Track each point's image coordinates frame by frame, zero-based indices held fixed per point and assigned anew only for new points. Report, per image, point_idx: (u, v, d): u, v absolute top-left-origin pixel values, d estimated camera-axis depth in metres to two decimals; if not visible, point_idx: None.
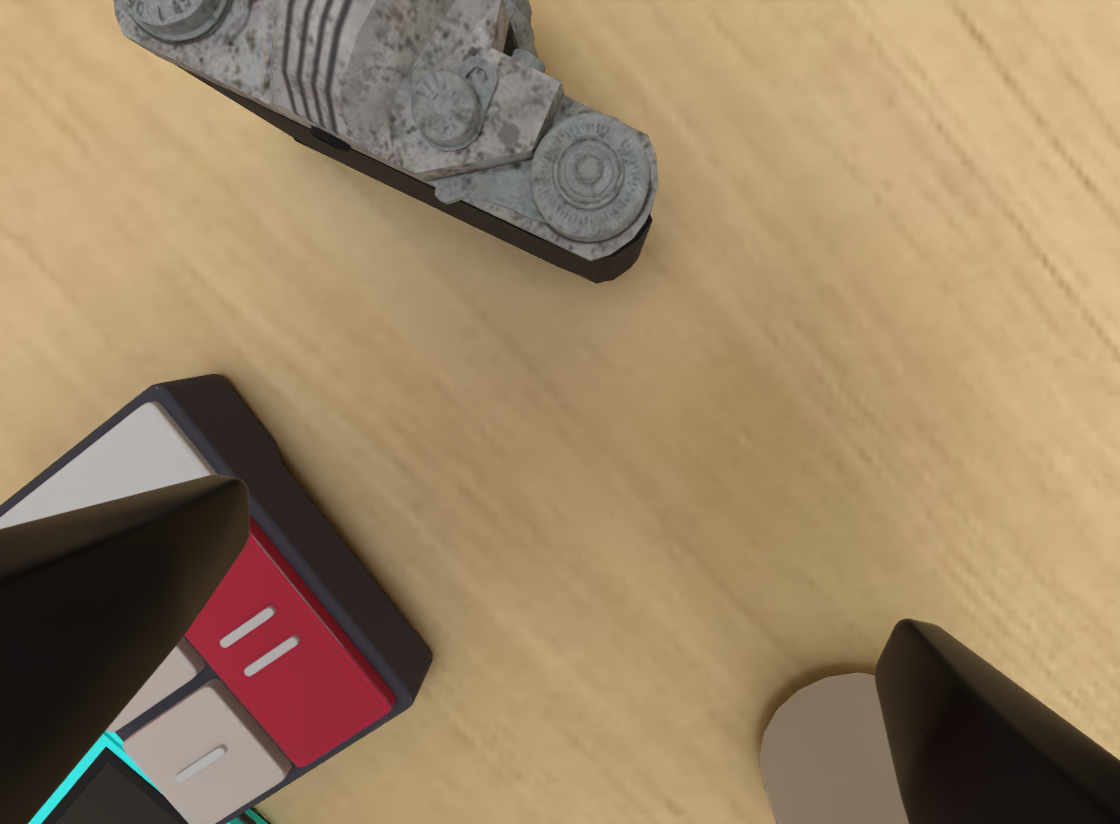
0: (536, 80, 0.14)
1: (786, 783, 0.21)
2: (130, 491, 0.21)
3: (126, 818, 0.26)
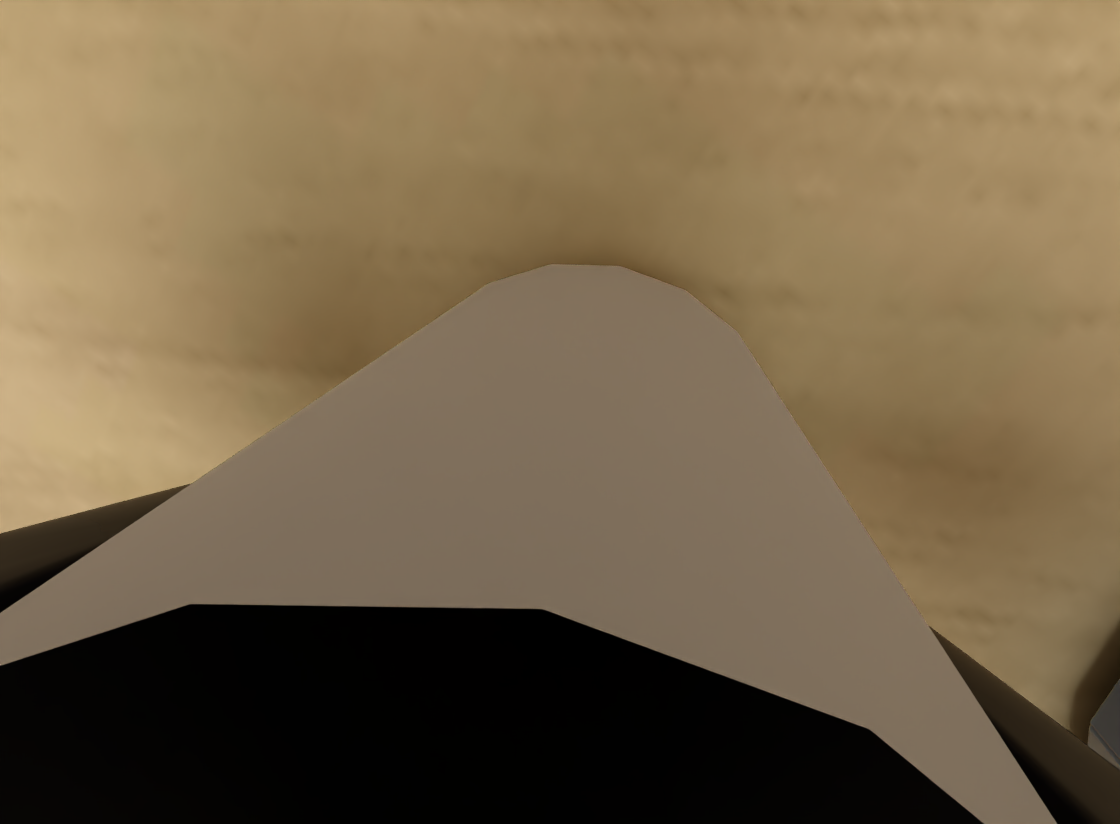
0: None
1: None
2: None
3: None
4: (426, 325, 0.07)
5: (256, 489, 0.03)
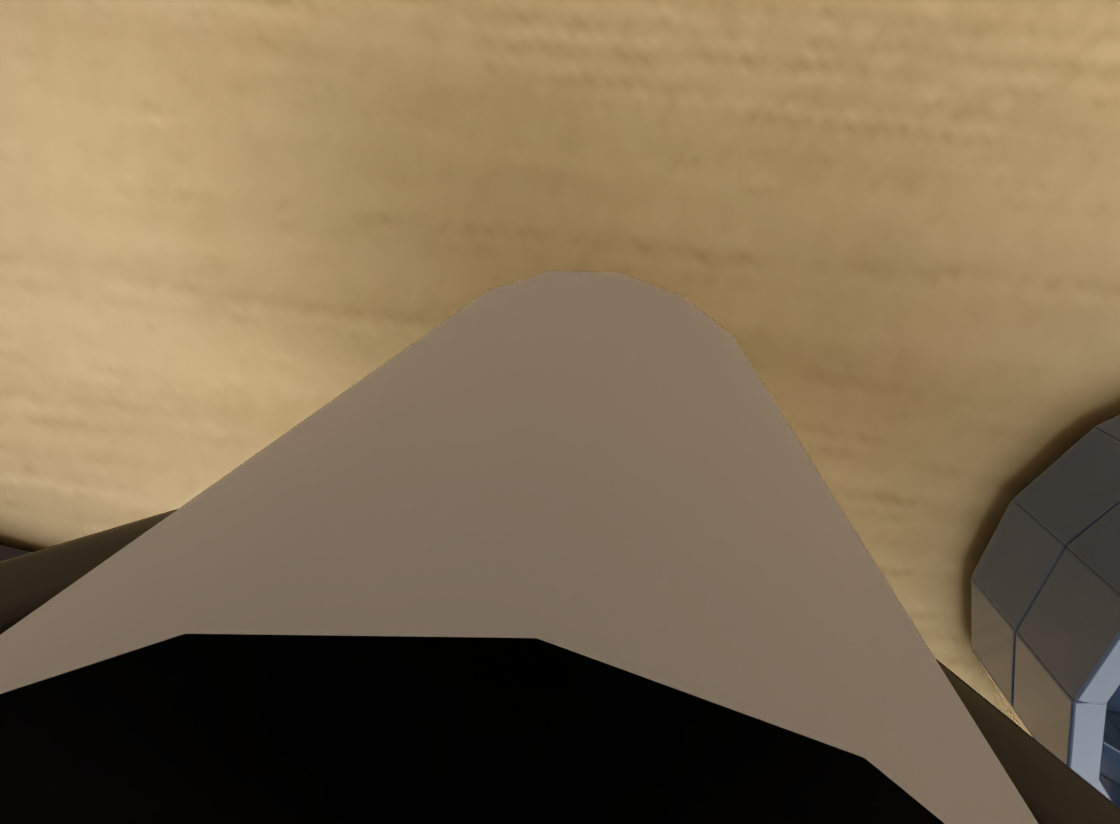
0: None
1: None
2: None
3: None
4: None
5: (271, 493, 0.03)
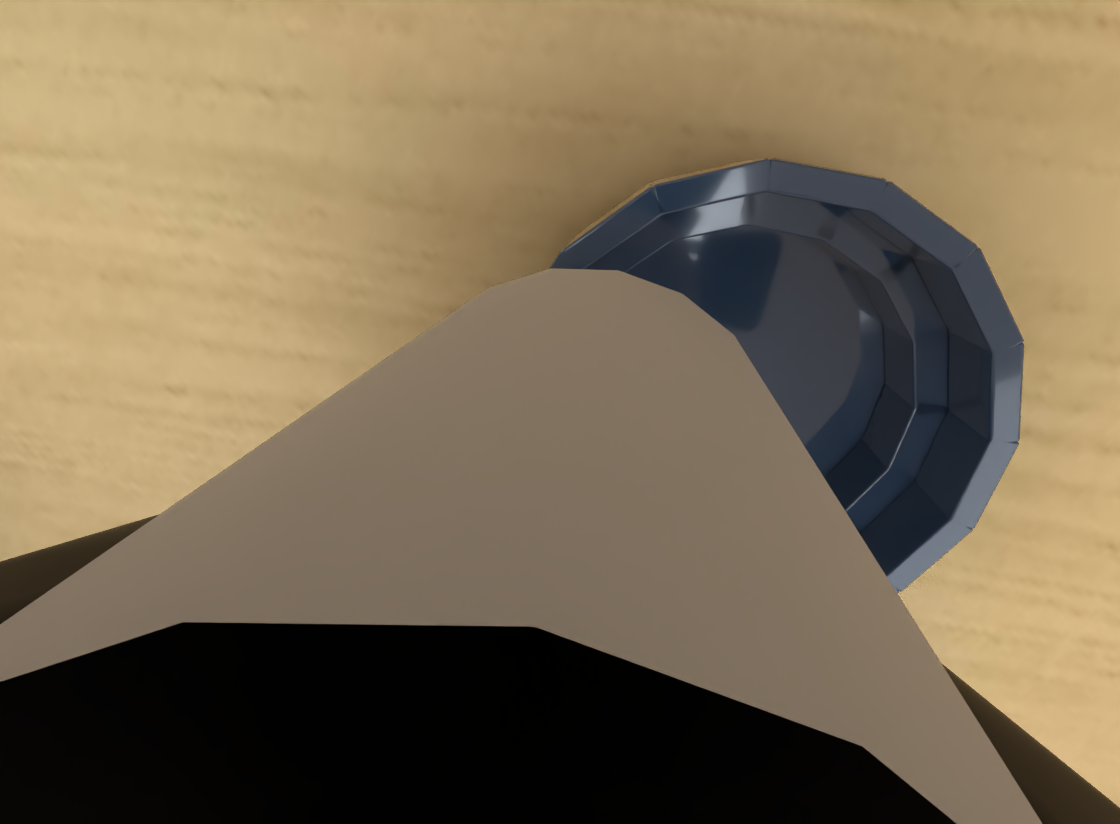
0: None
1: None
2: None
3: None
4: None
5: (267, 489, 0.03)
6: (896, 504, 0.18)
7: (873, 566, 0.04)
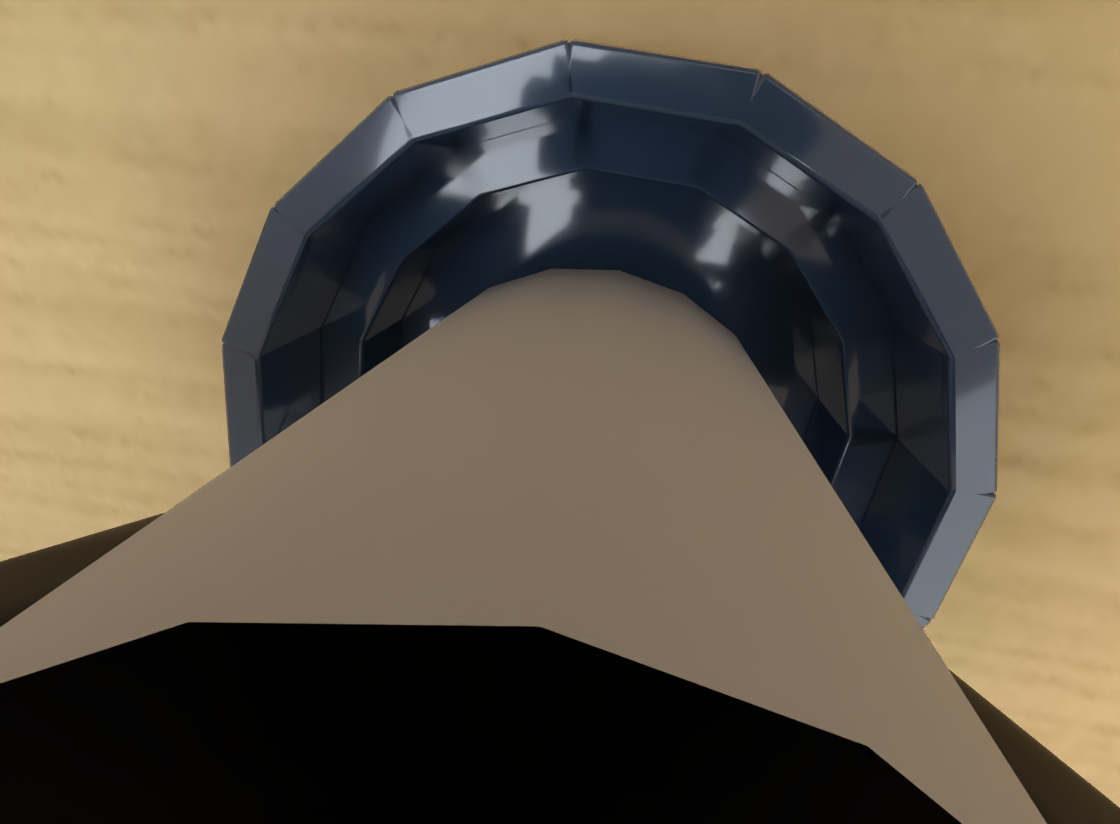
0: None
1: None
2: None
3: None
4: (429, 329, 0.08)
5: (270, 489, 0.03)
6: None
7: (876, 567, 0.04)
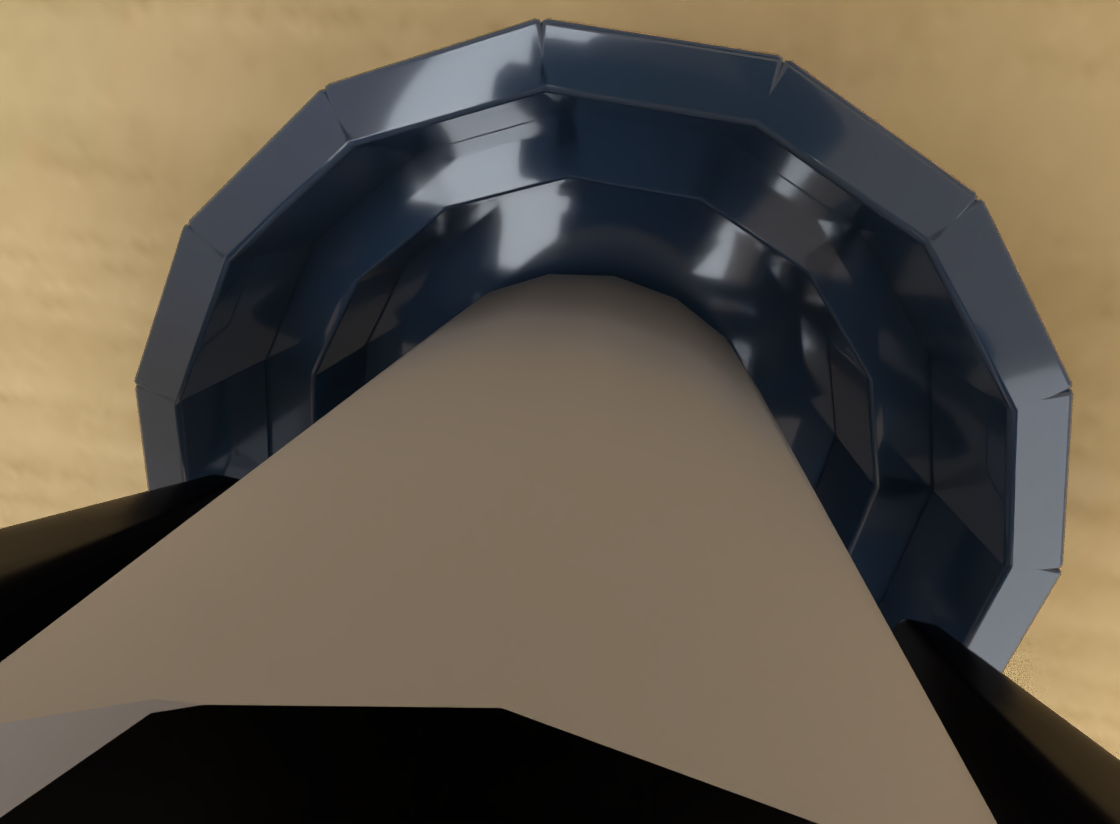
0: None
1: None
2: None
3: None
4: (430, 337, 0.08)
5: (287, 502, 0.04)
6: None
7: (840, 567, 0.04)
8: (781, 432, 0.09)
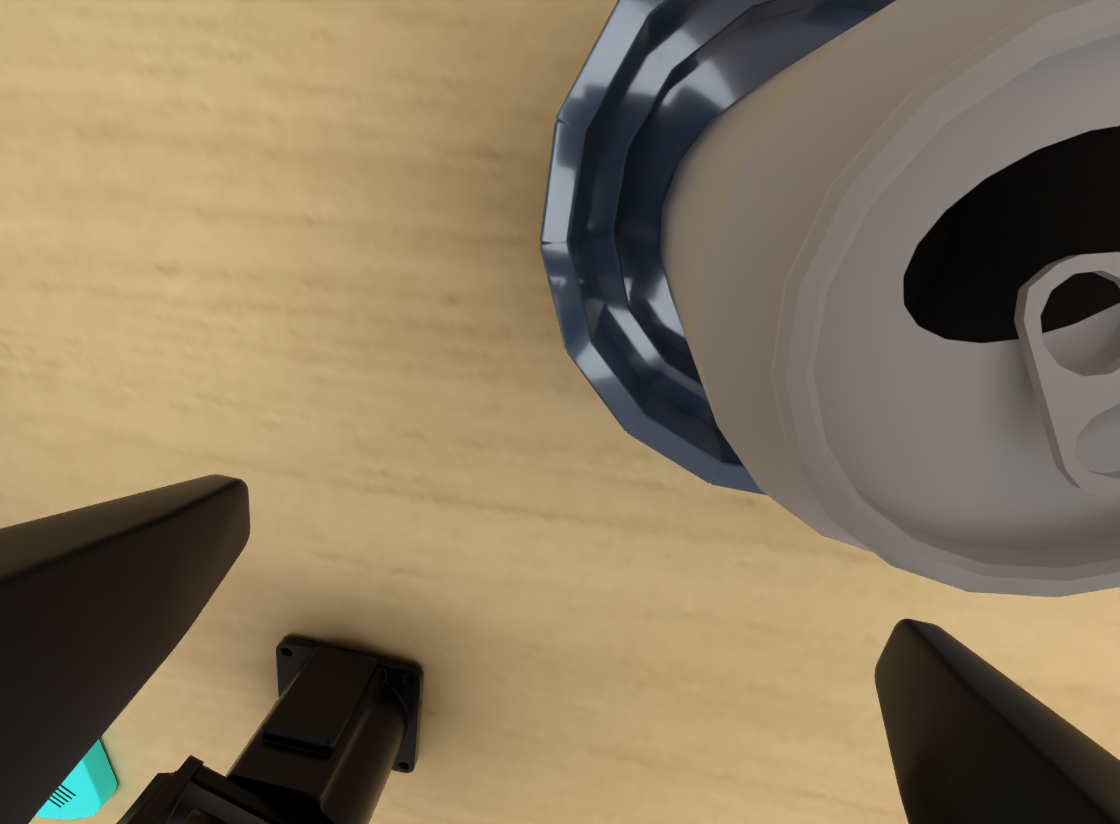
0: None
1: (675, 307, 0.14)
2: None
3: None
4: (784, 69, 0.12)
5: None
6: None
7: None
8: None
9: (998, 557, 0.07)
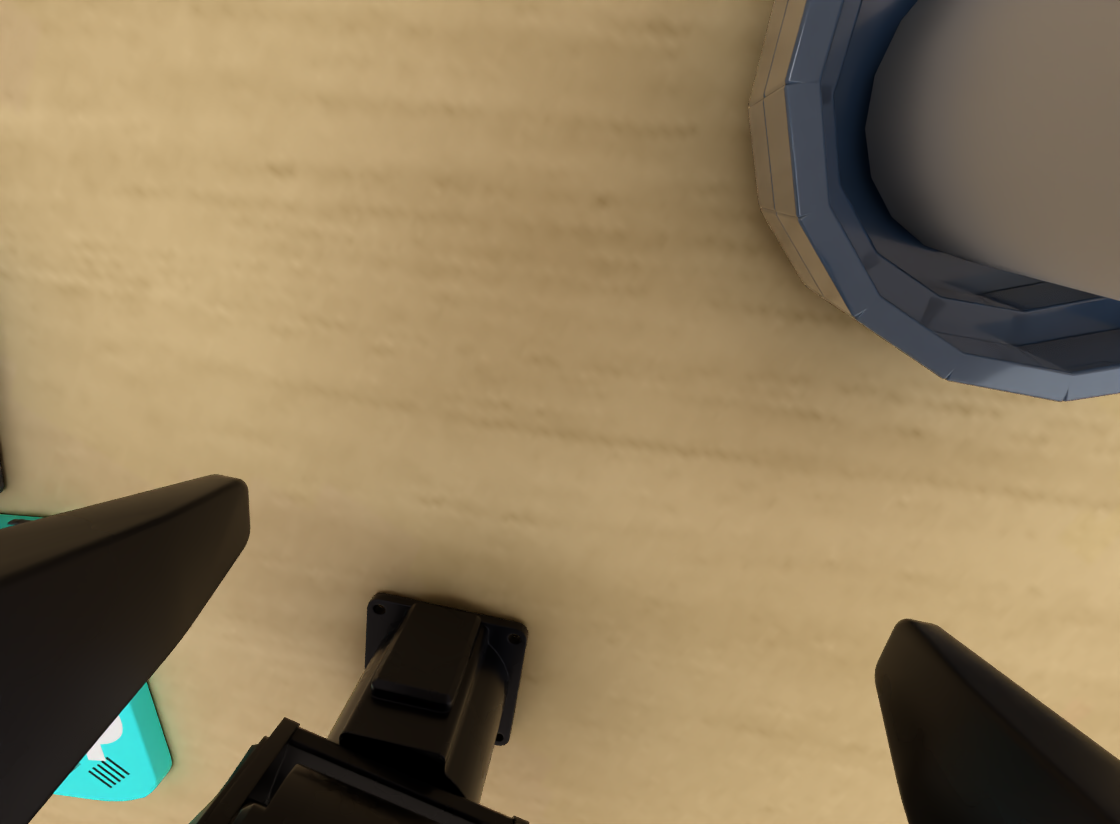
0: None
1: (917, 167, 0.13)
2: None
3: None
4: None
5: None
6: None
7: None
8: None
9: None
